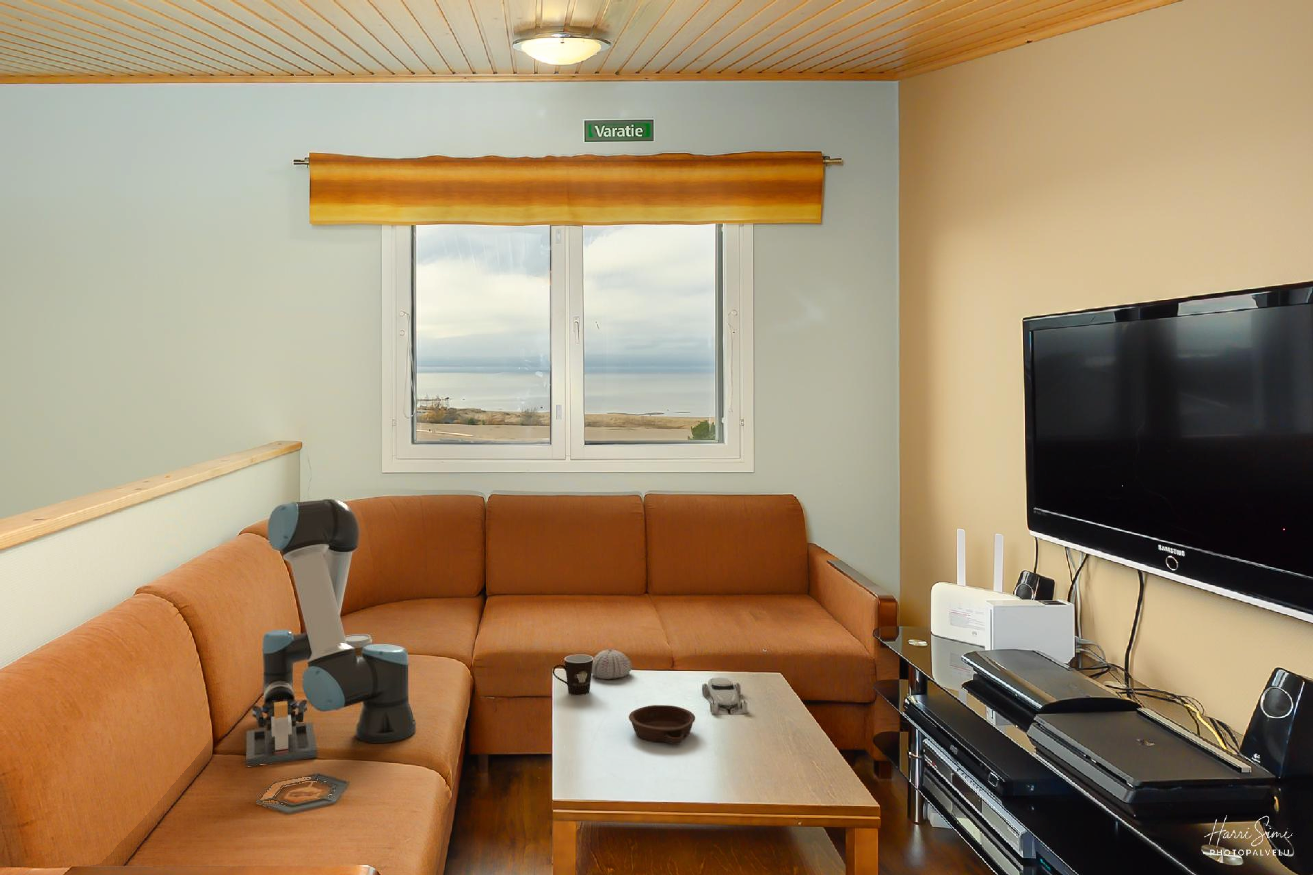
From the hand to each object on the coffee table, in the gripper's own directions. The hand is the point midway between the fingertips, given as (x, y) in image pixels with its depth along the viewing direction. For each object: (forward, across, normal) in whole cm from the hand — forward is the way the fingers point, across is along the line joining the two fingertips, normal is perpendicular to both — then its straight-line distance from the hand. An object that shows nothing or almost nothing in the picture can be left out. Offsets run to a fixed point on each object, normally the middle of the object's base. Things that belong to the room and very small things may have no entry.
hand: (281, 729), depth 229 cm
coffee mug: (-25, -82, -9) cm, 86 cm away
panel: (-11, 0, -8) cm, 14 cm away
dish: (+16, -93, -9) cm, 95 cm away
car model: (0, -120, -9) cm, 120 cm away
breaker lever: (-5, 0, -6) cm, 8 cm away
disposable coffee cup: (-65, -24, -9) cm, 70 cm away
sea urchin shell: (-35, -98, -9) cm, 104 cm away
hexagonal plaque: (+19, -4, -9) cm, 22 cm away
